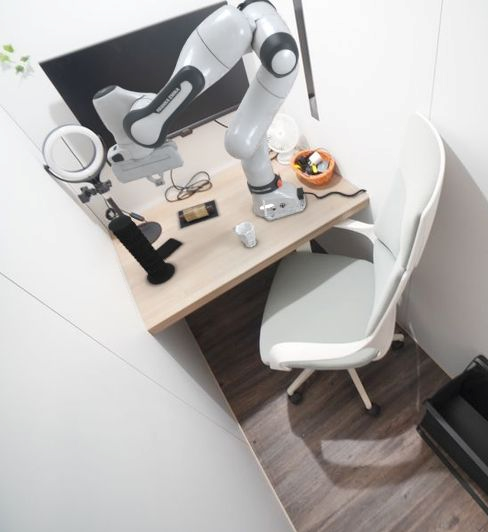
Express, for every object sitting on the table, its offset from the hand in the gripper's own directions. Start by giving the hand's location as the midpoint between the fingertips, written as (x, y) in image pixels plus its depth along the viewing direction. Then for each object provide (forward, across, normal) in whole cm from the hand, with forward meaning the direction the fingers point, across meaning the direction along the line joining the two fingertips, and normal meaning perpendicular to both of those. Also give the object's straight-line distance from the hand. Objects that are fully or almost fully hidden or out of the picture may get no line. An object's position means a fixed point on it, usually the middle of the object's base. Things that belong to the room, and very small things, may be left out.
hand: (161, 184), depth 107 cm
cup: (+27, -19, +11) cm, 35 cm away
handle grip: (+27, +14, +11) cm, 33 cm away
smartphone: (+27, +13, +1) cm, 30 cm away
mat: (+27, -3, -18) cm, 33 cm away
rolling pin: (+27, -3, -15) cm, 31 cm away
